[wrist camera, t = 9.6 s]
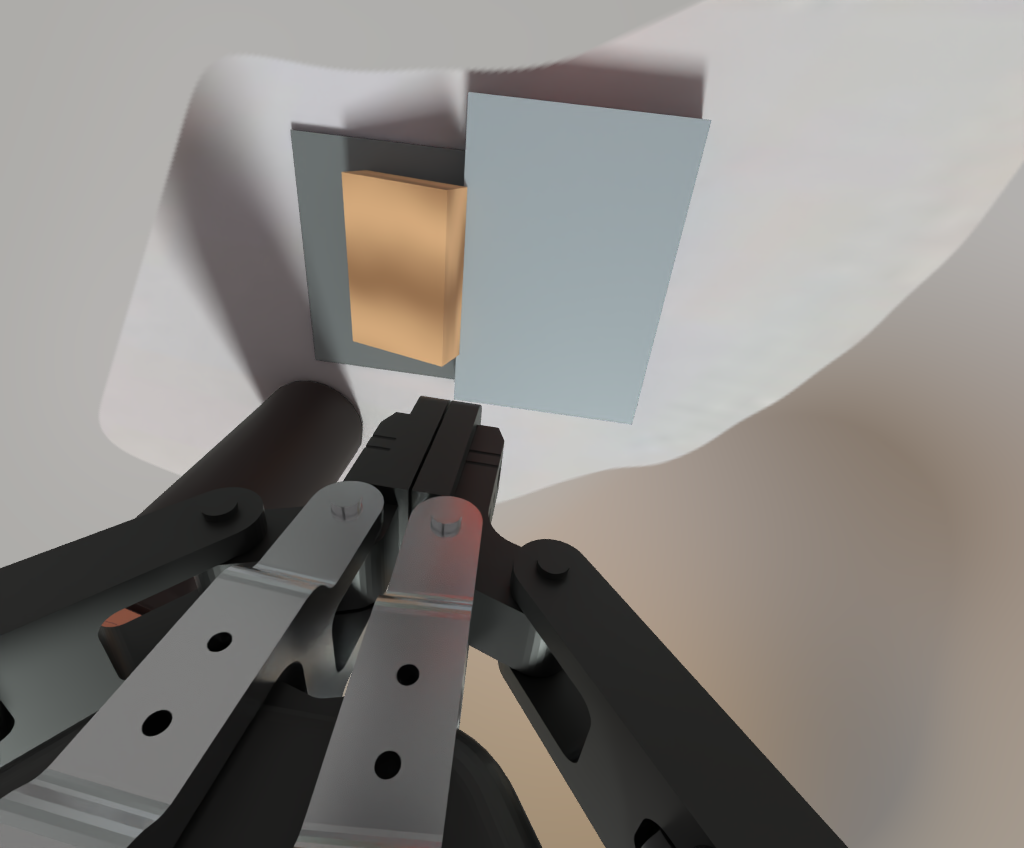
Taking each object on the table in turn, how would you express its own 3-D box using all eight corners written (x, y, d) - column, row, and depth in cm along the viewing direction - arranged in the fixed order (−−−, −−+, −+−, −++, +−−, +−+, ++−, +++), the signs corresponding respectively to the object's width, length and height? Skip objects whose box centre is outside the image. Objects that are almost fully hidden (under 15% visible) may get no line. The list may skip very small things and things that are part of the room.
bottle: (278, 362, 34) (-26, 609, 17) (375, 402, 35) (177, 677, 18) (264, 440, 37) (1, 710, 20) (353, 474, 38) (170, 762, 21)
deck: (475, 93, 25) (468, 91, 23) (701, 120, 24) (711, 119, 23) (460, 385, 33) (454, 399, 31) (629, 408, 33) (631, 424, 31)
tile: (366, 170, 27) (341, 171, 25) (467, 187, 25) (447, 190, 24) (373, 330, 32) (352, 341, 30) (459, 354, 30) (441, 366, 28)
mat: (293, 129, 27) (290, 129, 26) (469, 151, 26) (467, 151, 26) (317, 357, 33) (315, 359, 33) (457, 377, 33) (456, 379, 33)
